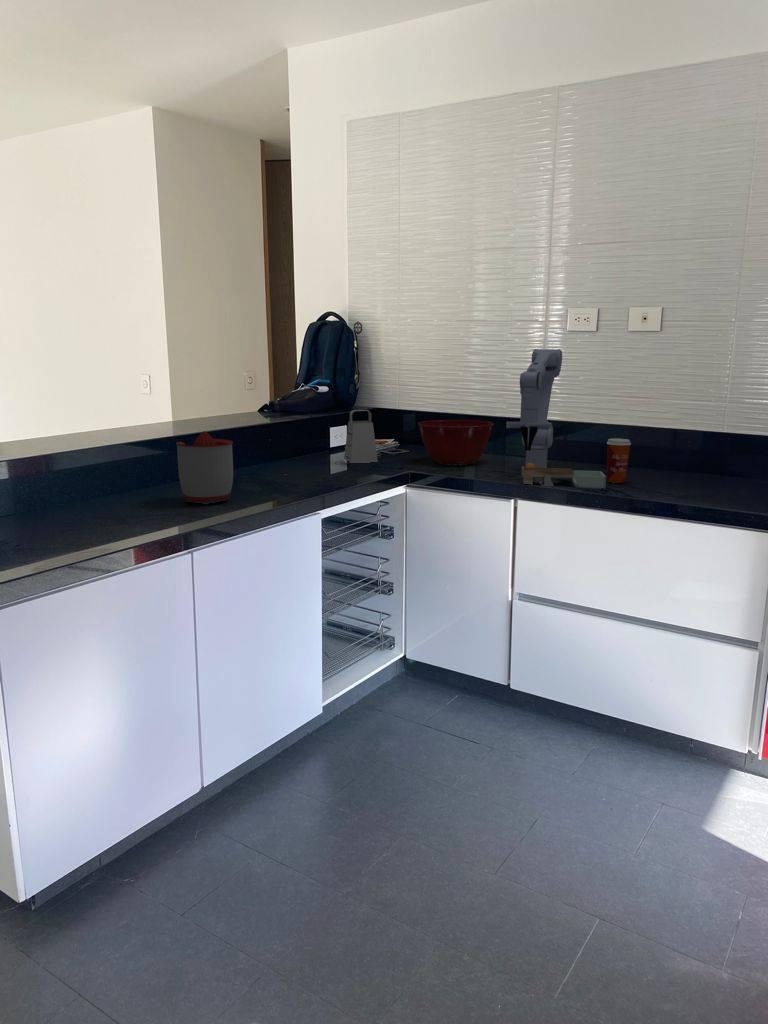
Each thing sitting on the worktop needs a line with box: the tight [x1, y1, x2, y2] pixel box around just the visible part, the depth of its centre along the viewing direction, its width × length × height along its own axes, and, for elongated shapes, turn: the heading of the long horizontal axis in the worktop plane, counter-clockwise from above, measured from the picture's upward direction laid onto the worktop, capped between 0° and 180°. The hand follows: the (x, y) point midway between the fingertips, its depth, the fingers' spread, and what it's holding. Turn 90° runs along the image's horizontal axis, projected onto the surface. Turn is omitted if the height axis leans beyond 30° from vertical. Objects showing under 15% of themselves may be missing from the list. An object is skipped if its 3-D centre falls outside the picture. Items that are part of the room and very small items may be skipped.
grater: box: [343, 409, 379, 463], centre depth 279 cm, size 10×10×20 cm
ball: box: [524, 463, 535, 470], centre depth 240 cm, size 3×3×3 cm
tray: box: [571, 469, 607, 490], centre depth 238 cm, size 11×9×4 cm
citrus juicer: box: [175, 430, 234, 502], centre depth 211 cm, size 16×17×20 cm
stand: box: [538, 474, 555, 487], centre depth 240 cm, size 8×4×4 cm, turn 173°
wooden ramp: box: [520, 465, 574, 486], centre depth 243 cm, size 13×16×5 cm
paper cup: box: [606, 438, 632, 484], centre depth 243 cm, size 8×8×14 cm
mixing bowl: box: [417, 419, 494, 466], centre depth 281 cm, size 28×28×16 cm
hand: (527, 450), depth 246 cm, fingers closed
